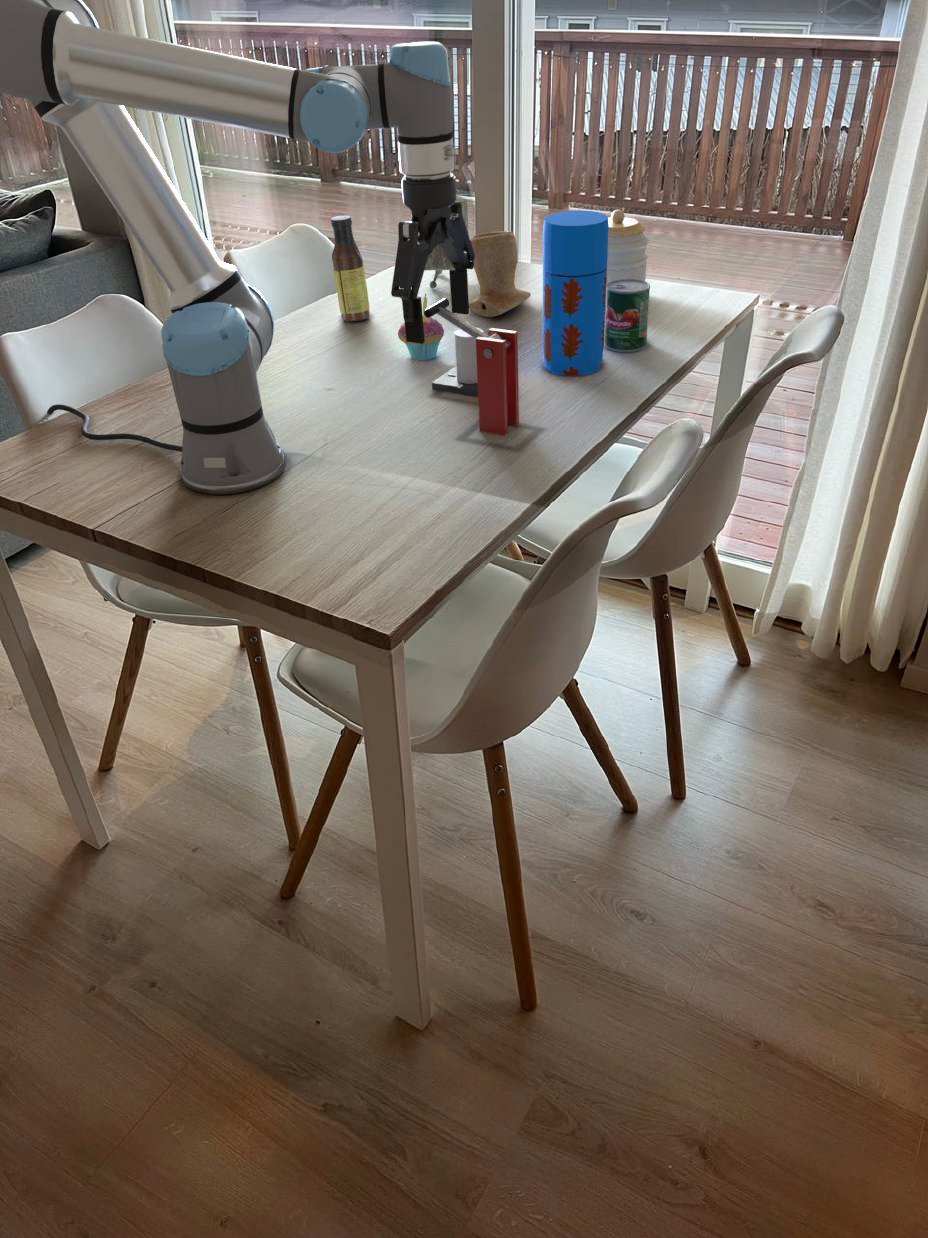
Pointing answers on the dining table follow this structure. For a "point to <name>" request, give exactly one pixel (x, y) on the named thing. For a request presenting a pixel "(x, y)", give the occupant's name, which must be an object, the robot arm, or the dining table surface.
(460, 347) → the knob
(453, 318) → the lever
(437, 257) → the tabletop clock
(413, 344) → the cupcake
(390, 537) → the dining table surface
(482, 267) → the tan piece
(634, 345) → the canned tomato
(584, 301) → the thermos
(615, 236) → the jar
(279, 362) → the dining table surface
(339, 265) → the sauce bottle
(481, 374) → the red lever stand
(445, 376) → the dial panel
